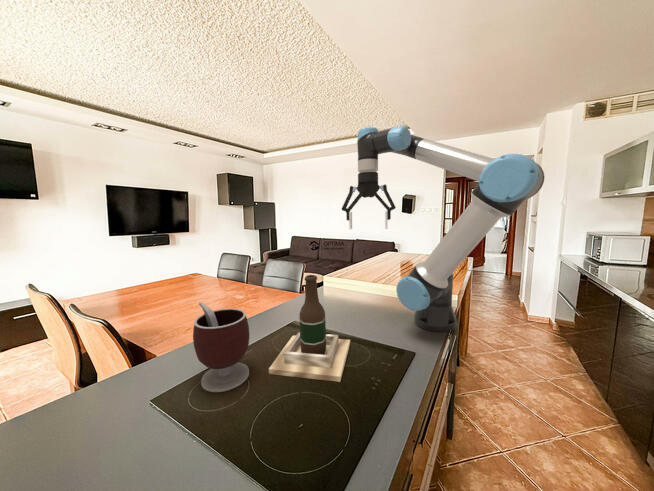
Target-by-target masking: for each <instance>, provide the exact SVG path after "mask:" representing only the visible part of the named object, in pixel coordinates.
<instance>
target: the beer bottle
mask: <svg viewBox="0 0 654 491" xmlns="http://www.w3.org/2000/svg"><path fill="white" fill-rule="evenodd" d="M304 281H305V289H304V290H305V292H304V293H305V294H304V296H305V297H304V303H303V305H302V307H301V308H300V311H299V332H300V343H301V353H310V354H320V355H324V353H325V351H326V334H327V328H326V323H327V322H326V311H325V308H324V306H323V305H322V304H321V303H320V299H319V294H318V293H319V291H318V283H317V281H318V277H317V275H314V274H308V275H306V276H305V277H304Z"/></svg>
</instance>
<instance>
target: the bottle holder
mask: <svg viewBox="0 0 654 491" xmlns="http://www.w3.org/2000/svg"><path fill="white" fill-rule="evenodd" d="M350 346H351V339H346V338H345V339H344V338H339V334H329V333H328V334H327V333H326V351H325V353H324V355H320V354H310V353H301V343H300V331H299V332H297V334H296V335H292V336H291V337H290V339H289V340H288V342H287V343H286V344H285V345H284V347H283V348H282V350H281V351H280V353H279V354H278V355H277V357H276V358H275V359H274V361H273V362H272V364H271V365H270V366H269V367H268V374H269V375H276V376H284V377H293V378H302V379H311V380H319V381H329V382H338V383H341V381H342V378H343V377H342V376H343V373H344V369H345V366H346V362H347V357H348V354H349V350H350Z"/></svg>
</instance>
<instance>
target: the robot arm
mask: <svg viewBox="0 0 654 491" xmlns="http://www.w3.org/2000/svg"><path fill="white" fill-rule="evenodd" d="M356 143H357V172H358V174H357V186H352V185H350V187H349V189H348V190H349V192H348V193H347V196H346V198H345V201H344V203H343V204H342V207H341V211H343V212H345V213H346V221H348V224H349V226H348V228H349V230H352V229H353V211H352V209H353V208H354V206H355V205H357V203H358V202H359V201H360V200H361V198H364V199H365V198H366V199H367V198H374V197H375V198H376V200H378V202H380V204H381V205H382V206H383V207H384V208H385V209H386V211H385V214H384V218H385V220H384V222H385V224H384V225H385V226H384V227H385V229H386V230H387V229H388V221H390V220H391V216H392V214H391V212H392V211H393V210H395V209H396V205H395V203H394V201H393V199H392V197H391V195H390V193H389V192H388V186H387V184H383V185H379V173H378V171H379V155H381V154H386V153H388V154H389V153H393V154H396V155H397V154H398V155H402V156H405V157H408V158H410V159H414V160H417V161H420V162H423V163H426V164H429V165H431V166H433V167H434V166H435V167H437V168H440V169H442V170H445V171H448V172H452V173H454V174H456V175H459V176H463V177H465V178H469V179H471V180H473V181H477V182H478V183H477V185H476V186H475V187H474V188H473V190H472V191H471V192H470V195H471V202H470V203H469V204H468V205H467V207H466V208H465V209H464V210H463V212H462V213H461V214H460V215H459V217H458V218H457V220H456V221H455V222H454V224H452V226H451V227H450V228H449V229H448V230H447V233H446V234H445V235H444V236H443V238H441V240H440V241H439V243H438V244H437V245H436V246H435V247H434V249H433V250H432V252H431V253H430V254H429V255H428V257H427V258H426V259H425V261H424V262H423V261H422V262H421V261H420V262H417V263H416V264H415V266H414V267H413V268H412V269H411V271H410V272H409V273H408V275H407V276H403V277H402V278H401V279H400V280H398V282H397V284H396V289H395V290H396V294H397V295H396V296H397V298H398V300H399V302H400V303H401V305H402V306H404V307H405V308H407V309H408V310H411V311H414V315H413V323H414V325H416V326H418V327H419V328H421V329H423V330H428V331H431V332H440V333H441V332H442V333H443V332H451V331H454V330H455V329H456V328H457V318H456V315H455V311H454V308H453V288H454V287H453V286H454V284H453V282H454V272H455V270H457V268H458V267H459V266H460V265H461V263H463V261H465V259H466V258H467V257H468V256H469V255H470V254H471V252H472V251H473V250H474V249H475V248H476V247H477V246H478V245H479V243H480V242H481V241H482V240H483V239H484V238H485V236H486V235H487V234H488V233H489V232H490V231H491V230H492V228H494V226H495V225H496V224H497V223H498V221H499V220H500V219H503V218H506V217H507V218H508V217H511V216H512V215H513V214H514V213H515V212H516V211H517V210H518V209H519V207H520V206H521V205H522V204H523V203H524V202H525V201H526V200H529V199H531V198H533V197H534V196H535V195H536V194H537V193H539V191H540V190H541V189H542V187H543V185H544V182H545V173H544V172H545V171H544V170H543V168H542V167H541V166H540V164H538V163H537V162H536V161H535V160H534V159H533V158H530V157H529V156H526V155H523V154H521V153H520V154H518V153H509V154H508V153H506V154H504V155H500V156H498V157H495V158H493V157H489V156H487V155H483V154H479V153H476V152H472V151H469V150H466V149H462V148H459V147H455V146H451V145H448V144H445V143H441V142H437V141H433V140H432V139H431V140H430V139H428V138H427V139H426V138H424V137H422V136H421V137H419V136H417V135H414V134H411V131H410V129H409V128H408V127H407V126H406V125H400V126H399V125H398V126H394V127H391V128H387V129H384V130H381V131H379V129H378V128H377V127H374V126H368V127H363V128H360V129H359V130H358V132H357V141H356ZM380 190H381V192H384V195H385V197H386V199H387V201H388V203H389V204H390V206H389V205H388V204H387V203H386V201H384V199H382V198H381V196H380V195H379V194H378V192H379V191H380ZM356 191H357V192H358V195H357V196H356V197H355V198H354V200H353V201H352V202H351V203H350V200H351V199H352V196H353V194H354V193H355V192H356ZM349 203H350V205H349ZM348 205H349V206H348Z"/></svg>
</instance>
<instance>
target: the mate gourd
mask: <svg viewBox="0 0 654 491" xmlns="http://www.w3.org/2000/svg"><path fill="white" fill-rule="evenodd" d="M198 305H199V306H200V307H201V309H202V311H203V314H202V315H200V316H198V317H196V319H194V321H193V324H194V325H193V331H192V332H193V333H192V339H193V342H192V343H193V348H194V351H195V355H196V357H197V360H198V361H199V362H200V363H201V364H203V365H204V366H205V367H206V368H208V369H209V370H207V371H206V372H205V373H204V374H203V375H202V377H201V380H200V384H201V388H202V389H204V390H205V391H208V392H211V393H221V392H227V391H230V390H232V389H235V388H237V387H239V386H241V385H242V384H243V383H244V382H245V381H246V380H247V379H248V377H249V375H250V368H249V366H248V365H247V364H245V363H244V362H243V363H242V362H240V361H242V359H243V357H244V356H245V354H246V353H247V352H248V349H249V344H250V325H249V321H248V317H247V314H246V311H244V310H243V309H239V308H221V309H216V310H212V309H211V308H210V307H209V306H208V305H206V304H205V303H204V302H200V301H199V302H198Z"/></svg>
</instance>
